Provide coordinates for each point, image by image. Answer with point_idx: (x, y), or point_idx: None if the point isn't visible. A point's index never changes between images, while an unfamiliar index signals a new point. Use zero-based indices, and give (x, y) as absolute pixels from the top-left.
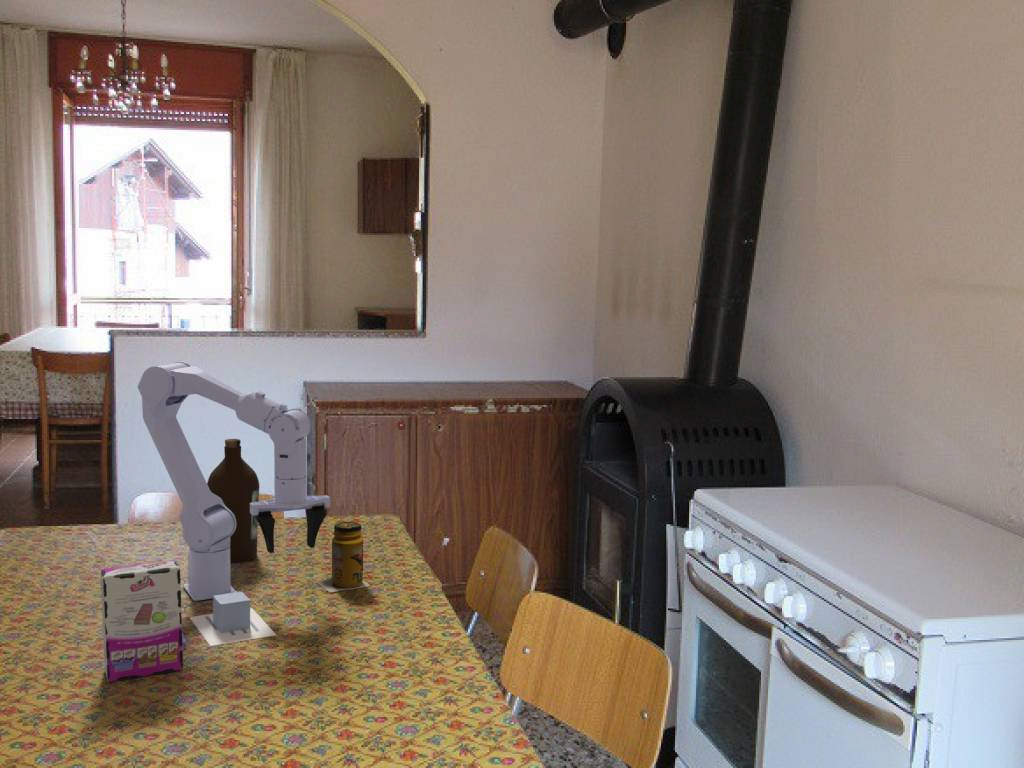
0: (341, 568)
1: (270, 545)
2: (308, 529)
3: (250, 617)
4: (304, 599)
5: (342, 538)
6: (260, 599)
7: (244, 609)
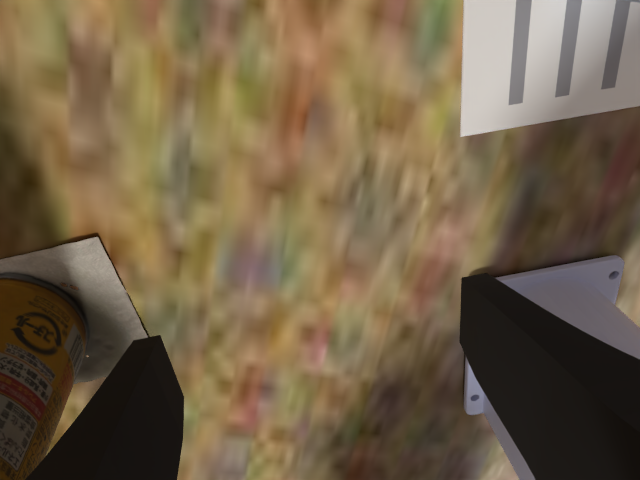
0: (7, 343)
1: (524, 299)
2: None
3: (504, 3)
4: (223, 185)
5: None
6: (399, 228)
7: None
